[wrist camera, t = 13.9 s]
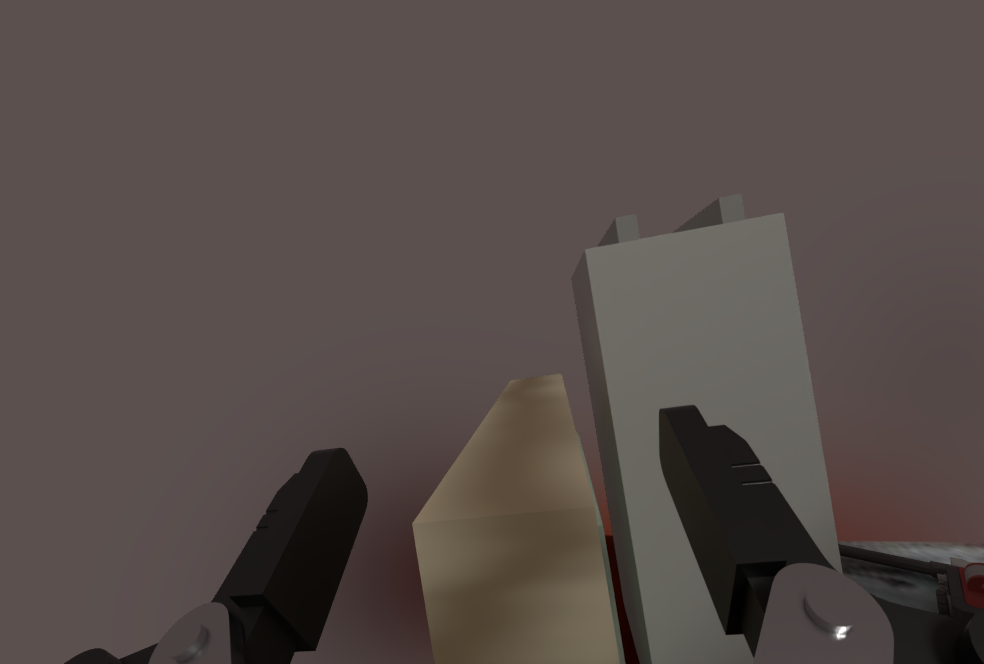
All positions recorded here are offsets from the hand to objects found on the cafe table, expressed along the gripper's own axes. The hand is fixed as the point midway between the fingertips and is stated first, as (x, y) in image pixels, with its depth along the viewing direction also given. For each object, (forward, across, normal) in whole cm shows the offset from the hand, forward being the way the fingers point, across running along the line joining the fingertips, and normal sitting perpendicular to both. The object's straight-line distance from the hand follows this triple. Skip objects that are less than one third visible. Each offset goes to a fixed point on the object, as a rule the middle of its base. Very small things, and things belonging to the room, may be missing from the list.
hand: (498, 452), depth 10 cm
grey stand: (+7, -10, +33) cm, 35 cm away
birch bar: (+6, 0, +9) cm, 11 cm away
